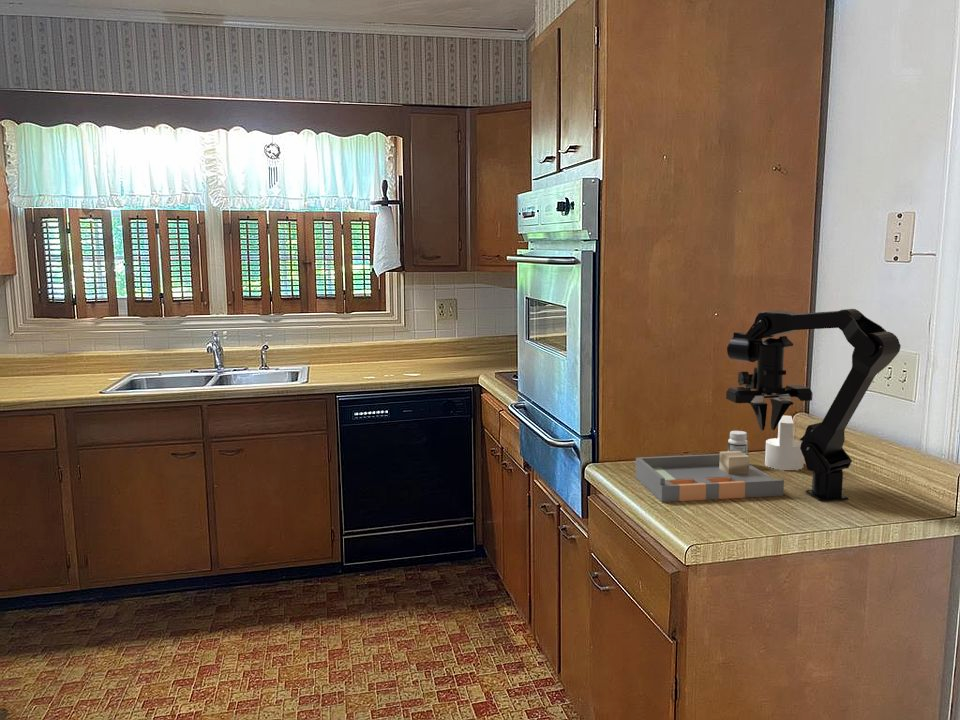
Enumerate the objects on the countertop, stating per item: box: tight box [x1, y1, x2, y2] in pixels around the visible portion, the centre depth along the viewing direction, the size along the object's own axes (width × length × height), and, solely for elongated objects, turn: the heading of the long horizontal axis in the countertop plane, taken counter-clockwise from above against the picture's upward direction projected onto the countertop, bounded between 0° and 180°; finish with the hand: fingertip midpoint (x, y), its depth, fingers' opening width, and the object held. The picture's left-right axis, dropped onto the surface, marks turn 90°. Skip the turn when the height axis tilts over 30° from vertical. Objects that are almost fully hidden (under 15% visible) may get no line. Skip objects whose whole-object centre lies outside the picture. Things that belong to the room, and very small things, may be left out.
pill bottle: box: [727, 430, 749, 453], centre depth 191 cm, size 5×5×8 cm
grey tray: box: [635, 452, 785, 503], centre depth 174 cm, size 18×28×5 cm, turn 97°
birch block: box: [719, 450, 750, 474], centre depth 178 cm, size 5×5×4 cm
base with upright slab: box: [764, 414, 805, 471], centre depth 189 cm, size 9×9×12 cm
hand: (767, 429), depth 177 cm, fingers open, 2 cm apart
